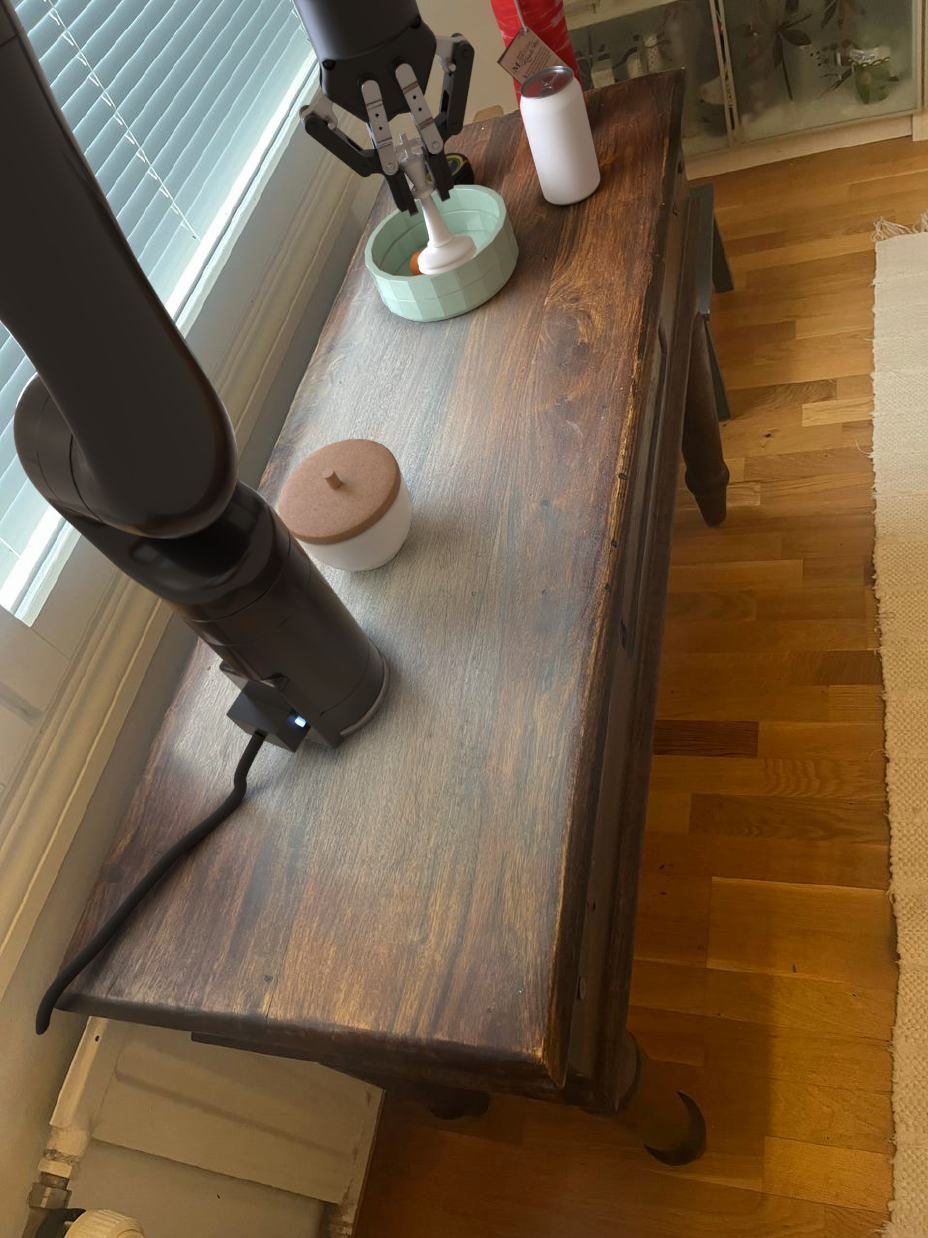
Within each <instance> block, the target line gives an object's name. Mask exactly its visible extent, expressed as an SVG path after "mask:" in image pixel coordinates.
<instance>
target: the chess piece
mask: <svg viewBox="0 0 928 1238" xmlns="http://www.w3.org/2000/svg"><path fill="white" fill-rule="evenodd" d="M398 136H399V138H400V141H401V142H399V143H398V144H396V145H394V150H395V153H397V154H399V153H401V152H403V151H404V152H405V155H406V156H405V157H404V158H403V159H402V160H401V161H400V162H399V164H400V166H401V167H402V169H403V171H404V174H405V176H406V178H408V180H409V181H410V182H411V184H412V185H413V186H415V187H414V189H413V190H412V191H411V193H412V195H413V198H414V199H420V202H421V205H422V209H423V213H424V217H425V221H426V225H427V229H428V233H429V238H430V240H429V242H428V244H427V245H428V247H426V248H425V249H424V250H423V251H422V252H421V254H420V255H419V257H418V264H419V269H420V271H421V272H422V273H424V274H428V275H434V274H441V273H445V272H448V271H450V270H453V269H455V268H457V267H459V266H461V265H463V264H464V263H466V262H467V261H468V260H469V259H470V258H472V256H473V255H474V254H475V252H476V245H475V244H474V242H473V239H472V238H471V237H470V236H467V235H455V234H454V233H453V232H449V230H448V228H447V226H446V224H445V222H444V220H443V218H442V216H441V215H440V213H439V210H438V208H437V206H436V204H435V202H434V200H433V198H432V196H431V194H432V193H433V192H434V191H435V190H436V186H435V184H434V183H433V182H427V181H426V166H425V165H426V161H425V156H424V154H423V153H422V152H413V150H412V147H414V146H416V145H418V144H419V142H418V139H417V137H416V136H412V137H411V138H408V135H407V133H406V132H405V131H402V132H400V133H398Z"/></svg>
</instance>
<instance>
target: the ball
mask: <svg viewBox="0 0 928 1238" xmlns="http://www.w3.org/2000/svg"><path fill="white" fill-rule="evenodd" d="M422 251H423V250H422ZM422 251H419V252H417V253H415V254H414V256H413V257H412V259H411V262H410V268H411V271H412V273H413V275H414V276H417V275H423V274H424V273H422V272H421V271H420V269H419V264H418V257H419V255H420V254H421V252H422Z"/></svg>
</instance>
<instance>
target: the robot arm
mask: <svg viewBox="0 0 928 1238" xmlns="http://www.w3.org/2000/svg"><path fill="white" fill-rule="evenodd" d="M293 2H294V5H295V8H296V10H297V12H298V14H299V17H300V20H301V22H302V24H303V27H304V29H305V32H306V35H307V37H308V39H309V41H310V44H311V47H312V49H313V52H314V54H315V56H316V59H317V61H318V67H319V74H318V75H319V76H318V81H319V85H320V90H319V92H318V93H317V94H316V95H315V97H314V99H313V100H312V101H311V103H310V104H304V105H302V106H301V107H300V108H299V111H298V116H299V119H300V122H301V124H302V127H303V128H304V131H305V133H306V134H307V135H309V137H311V138H312V139H314V141H316V142H317V143H319V144H320V145H321V146H322V147H324V149H326V150H327V151H329V152H330V153H331V155H332V154H333V155H334V156H335V157H336V158H338V159H339V160H340V161H341V162H343V164H345V165H346V166H347V167H349V168H350V169H351V170H352V171H353V172H355V173H356V174H358V175H359V176H360V177H362V178H368V177H371V176H372V175H374V174H379V175H381V176H383V177H384V180H385V182H386V183H385V184H386V185H387V187H388V190H389V193H390V195H391V198H392V200H393V203H394V205H395V206H396V209H397V208H398V209H399V210H400V211H401V212H405V211H408V213H409V215H410V217H412V216H414V215H416V214H418V213H419V212H418V209H417V206H416V203H415V201H414V198H413V195H412V193H411V187H410V185H409V182H408V179H407V175H406V174H405V173H404V171H403V169H402V167H401V166H400V162H399V160H398V157H397V154H396V153H397V152H396V149H395V145H394V142H393V136H392V132H391V129H390V125H389V123H390V122H391V121H392V120H394V118H395V117H397V116H398V115H403V114H409V116H410V118H411V121H412V122H413V124H414V127H415V129H416V131H417V134H418V135H419V137H420V138H419V139H420V142H421V143H422V144H421V145H422V146H420V150H421V153H422V154H424V156H425V161H426V164H427V167H428V170H429V173H430V176H431V179H432V182H433V183H434V184H435V186H436V192H437V194H438V196H439V198H440V199H441V201H442V202H444V201H446V200H448V199H450V194H449V190H451V189H453V188H454V179H453V176H452V173H451V170H450V167H449V164H448V161H447V158H446V155H445V154H446V152H445V145H446V143H447V141H448V140H449V139H450V138H451V137H453V136H458V135H459V134H460V133H461V132H462V131H463V128H464V122H465V117H466V110H467V103H468V97H469V92H470V87H471V80H472V72H473V66H474V60H475V53H476V52H475V48H474V47H473V45H472V44H471V43H470V41H469V40H468V39H467V38H466V37H465V36H464V35H463V34H462V33H460V32H454V33H453V34H451V35H450V36H447V35H446V36H445V35H437V34H435V33H434V32H433V30H432V28H430V26H429V25H428V24H426V22H425V21H424V20H423V18H422V15H421V12H420V9H419V6H418V3H417V0H293ZM435 56H437V57H438V65H439V67H440V68H441V69H442V71H443V78H442V79H443V80H442V86H441V92H440V93H441V94H440V99H439V107H438V113H437V115H436V116H435V117H433V113H432V111H431V110H430V108H429V104H428V102H427V101H426V98H425V96H426V91H427V89H428V85H429V80H430V77H431V72H432V68H433V64H434V61H435ZM334 104H335V105H337V106H338V107H340V108H341V109H343V110H345V111H346V112H348V113H349V114H351V115H352V116H354V117H356V118H357V119H359V120H360V121H361V122H363V123H365V126H366V128H367V132H368V134H369V138H370V142H371V145H372V148H367V149H365V148H363V147H362V146H361V145H360V144H358V143H357V142H356V141H355V140H354V139H352V138H351V137H350V136H348V134H346V133H345V132H344V131H342V130H341V129H340V128H339V127H338V124H339V120H338V117H337V116H336V113H335V112H334V111H333V105H334ZM81 147H82V146H81V145H80V144H79V142H78V139H77V137H76V136H75V134H74V132H73V130H72V128H71V125H70V123H69V122H68V120H67V118H66V115H65V114H64V112H63V110H62V108H61V106H60V105H59V102H58V100H57V98H56V95H55V94H54V91H53V89H52V88H51V85H50V83H49V81H48V78H47V76H46V74H45V72H44V70H43V67H42V65H41V62H40V60H39V58H38V56H37V54H36V51H35V49H34V47H33V45H32V43H31V40H30V38H29V36H28V34H27V31H26V29H25V27H24V26H23V24H22V21H21V19H20V17H19V15H18V13H17V11H16V9H15V7H14V5H13V3H12V1H11V0H0V323H1V324H2V325H3V326H4V328H5V330H7V332H8V333H9V334H10V336H11V337H12V339H14V341H15V342H16V343H17V344H18V346H19V347H20V348H21V349H20V350H22V352H23V353H24V354H25V357H26V358H27V359H28V361H29V363H30V364H31V365H32V367H33V368H34V370H35V371H36V373H35V374H34V375H33V376H31V378H30V379H29V380H28V381H27V383H26V385H25V386H23V389H22V391H21V393H20V395H19V397H18V399H17V402H16V406H15V410H14V415H13V428H12V429H13V430H12V431H13V440H14V446H15V450H16V454H17V457H18V459H19V463H20V464H21V467H22V469H23V471H24V473H25V475H26V477H27V478H28V480H29V481H30V482H31V484H32V485H33V487H34V488H35V489H36V490H37V492H38V493H39V494H40V495H41V497H43V499H44V500H45V501H46V502H47V503H48V504H49V505H50V506H51V507H52V508H53V509H54V510H55V511H56V512H57V514H59V515H60V516H61V517H62V518H63V519H64V520H65V521H67V522H68V523H69V524H70V525H71V526H72V527H73V528H74V530H76V531H77V532H79V534H80V535H82V536H83V537H84V538H85V539H86V540H87V541H88V542H89V543H90V544H92V546H93V547H95V548H96V549H97V550H98V551H99V552H100V553H101V554H102V555H103V556H105V557H106V558H107V559H108V560H109V562H110V563H112V564H113V565H114V566H116V567H117V569H119V570H120V571H121V572H122V573H123V574H124V575H126V576H127V577H128V578H130V579H131V580H133V581H134V582H135V583H137V584H138V585H140V586H141V587H143V588H144V589H146V590H147V591H149V592H150V593H152V594H153V595H155V596H156V597H157V598H159V599H160V600H161V601H162V602H164V603H165V604H166V605H167V606H168V607H169V608H170V609H171V610H172V611H173V612H174V613H175V614H176V615H177V616H178V617H179V618H180V619H181V620H182V621H183V622H184V623H185V624H186V625H187V626H188V627H189V628H190V629H191V630H192V631H193V632H194V633H195V634H196V635H197V636H198V637H199V638H200V639H201V640H202V641H203V642H204V643H205V644H206V646H207V647H209V648H210V649H211V650H212V651H213V652H214V653H215V654H216V655H217V656H218V657H219V658H220V659H221V662H220V664H219V666H218V668H219V671H220V672H221V673H223V675H225V677H226V678H228V680H230V681H231V683H232V684H233V685H234V686H235V687H237V688H238V689H239V690H240V692H239V694H238V695H237V697H236V698H235V700H234V701H233V703H232V704H231V706H230V707H229V709H228V710H227V712H226V713H225V716H226V717H227V718H229V719H230V720H231V721H232V722H233V723H234V724H235V725H236V726H237V727H238V728H239V729H241V730H242V731H243V732H244V733H245V734H247V735H249V736H251V738H250V739H249V741H248V743H247V745H246V747H245V749H244V751H243V753H242V755H241V757H240V759H239V761H238V763H237V766H236V768H235V771H234V774H233V789H232V790H231V792H230V794H229V795H228V796H227V797H226V799H225V800H224V801H223V802H222V803H221V804H220V805H219V807H218V808H217V809H216V810H215V811H213V812H212V813H211V814H210V815H209V816H208V817H206V818H205V819H204V820H203V821H201V822H200V823H199V824H197V825H196V826H195V827H194V828H193V829H191V830H190V831H189V832H188V833H186V834H185V835H184V836H182V838H181V839H179V840H178V841H176V843H175V844H174V845H173V846H172V847H171V848H169V850H167V851H166V852H165V853H164V854H163V856H161V858H160V859H159V860H158V861H157V862H156V863H155V864H154V865H153V867H152V868H151V869H150V870H149V871H148V872H147V873H146V874H145V875H144V876H143V877H142V879H141V880H140V881H139V882H138V883H137V885H135V887H134V888H133V889H132V891H130V893H129V894H128V896H126V898H125V899H124V901H123V902H122V903H121V904H120V905H119V907H118V908H117V909H116V910H115V912H114V913H113V914H112V915H111V917H110V918H109V919H108V920H107V922H105V924H104V926H103V927H102V928H101V929H100V931H99V932H98V933H97V934H96V935H95V936H94V937H93V939H92V940H91V941H90V942H89V943H88V944H87V945H86V947H85V948H84V949H83V950H82V951H80V953H79V954H78V955H77V956H76V957H75V958H73V960H72V961H71V962H70V963H69V964H68V965H67V966H66V967H65V968H64V969H63V970H62V971H61V973H60V974H59V975H58V976H56V978H55V979H54V981H53V982H52V983H51V985H50V986H49V987H48V988H47V990H46V992H45V993H44V994H43V996H42V999H41V1001H40V1003H39V1005H38V1008H37V1011H36V1014H35V1015H36V1016H35V1034H36V1035H38V1036H41V1035H43V1034H45V1032H46V1031H47V1030H48V1029H49V1026H50V1024H51V1017H52V1014H53V1011H54V1008H55V1006H56V1003H57V1002H58V1000H59V998H60V997H61V996H62V995H63V992H64V991H65V990H66V989H67V988H68V987H69V985H70V984H71V983H72V982H73V981H74V980H75V979H76V977H78V975H79V974H80V973H81V972H83V970H84V969H85V968H86V967H87V966H88V965H89V964H90V963H91V962H92V961H93V960H94V959H95V958H96V956H98V955H99V953H101V951H102V950H103V949H104V948H105V946H107V944H108V943H109V942H110V941H111V940H112V938H113V937H114V936H115V934H116V933H117V932H118V930H120V928H121V927H122V926H123V924H124V923H125V922H126V920H127V919H128V918H129V917H130V916H131V914H132V913H133V912H134V910H136V908H137V906H138V905H139V904H140V903H141V902H142V901H143V899H144V898H145V897H146V896H147V895H148V893H149V892H150V891H151V889H153V887H154V886H155V885H156V883H158V882H159V880H160V879H161V878H162V877H163V876H164V875H165V874H166V873H167V872H168V870H170V868H171V867H172V866H173V865H175V863H176V862H177V861H178V860H179V859H180V858H181V857H182V856H183V855H184V854H185V853H186V852H187V851H189V850H190V849H191V848H192V847H193V846H194V845H196V844H197V843H198V842H200V840H202V839H203V838H205V836H207V835H208V834H209V833H210V832H212V830H214V829H215V828H216V827H217V826H219V825H220V823H222V822H223V821H224V820H225V819H226V818H227V817H228V816H230V814H231V813H232V812H234V810H236V808H237V807H238V806H239V804H241V802H242V800H243V798H244V797H245V796H246V793H247V789H248V780H247V779H248V775H249V773H250V769H251V767H252V766H253V763H254V761H255V759H256V757H257V755H258V754H259V752H260V750H261V748H262V746H263V744H264V742H267V743H269V744H271V745H273V746H276V747H278V748H281V749H284V750H286V751H288V752H290V753H293V754H296V753H297V751H298V749H300V746H301V745H302V743H303V742H304V740H306V741H312V742H314V743H317V744H319V745H322V746H325V747H327V748H330V749H332V750H335V749H337V748H338V747H339V745H340V744H341V742H342V741H343V739H344V738H345V737H347V736H349V735H352V734H354V733H355V732H356V731H359V730H360V729H362V727H364V726H365V725H366V724H367V723H369V722H370V720H371V719H372V718H373V717H374V716H375V715H376V714H377V712H378V711H379V709H380V708H381V706H382V705H383V702H384V701H385V699H386V696H387V693H388V690H389V684H390V669H389V664H388V661H387V660H386V657H385V655H384V654H383V653H382V651H381V650H380V649H379V647H378V646H377V645H376V644H374V642H373V640H372V639H371V638H370V637H369V636H368V635H367V633H366V632H365V630H364V629H363V628H362V626H361V625H360V624H359V622H358V621H357V620H356V618H355V616H353V614H352V613H351V611H350V610H349V609H348V607H347V606H346V605H345V603H344V602H343V601H342V599H341V598H340V597H339V595H338V593H336V591H335V590H334V588H333V587H332V586H331V584H330V583H329V581H327V578H326V577H325V576H324V575H323V573H322V572H321V571H320V569H319V568H318V567H317V566H316V564H315V562H313V560H312V558H311V557H310V556H309V554H308V552H307V551H306V550H305V549H304V548H303V547H302V546H301V544H300V543H299V542H298V541H297V539H296V538H295V537H294V535H293V534H292V533H291V531H290V530H289V529H288V527H287V526H286V525H285V523H284V522H283V521H282V519H281V518H280V516H279V513H277V511H276V510H275V509H274V507H273V506H272V505H271V503H270V502H269V501H268V500H267V499H266V498H265V497H264V496H263V495H262V494H261V493H259V492H258V491H257V490H255V489H254V488H252V487H251V486H249V485H247V484H246V483H245V482H243V481H241V480H240V479H238V471H239V454H238V445H237V438H236V434H235V429H234V426H233V423H232V419H231V417H230V415H229V412H228V410H227V408H226V405H225V403H224V401H223V400H222V398H221V396H220V394H219V392H218V391H217V389H216V388H215V386H214V384H213V383H212V381H211V378H210V377H209V376H208V374H207V373H206V371H205V369H204V368H203V365H202V364H201V363H200V361H199V359H198V358H197V356H196V355H195V353H194V352H193V350H192V348H191V346H190V345H189V344H188V342H187V340H186V338H185V337H184V336H183V334H182V332H181V331H180V329H179V327H178V326H177V324H176V322H175V321H174V319H173V318H172V316H171V315H170V312H169V311H168V310H167V308H166V307H165V304H164V303H163V301H162V300H161V298H160V297H159V295H158V293H157V292H156V290H155V288H154V286H153V285H152V283H151V281H150V280H149V278H148V276H147V275H146V274H145V271H144V270H143V268H142V266H141V263H140V262H139V261H138V259H137V257H136V255H135V254H134V252H133V249H132V247H131V245H130V243H129V242H128V239H127V237H126V235H125V233H124V231H123V229H122V227H121V226H120V223H119V221H118V219H117V217H116V215H115V212H114V211H113V209H112V207H111V204H110V202H109V200H108V198H107V196H106V194H105V192H104V190H103V189H102V186H101V185H100V182H99V181H98V179H97V177H96V175H95V173H94V171H93V169H92V167H91V164H90V163H89V161H88V159H87V157H86V155H85V153H84V151H83V149H82V148H81Z"/></svg>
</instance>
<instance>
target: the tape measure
mask: <svg viewBox="0 0 928 1238" xmlns="http://www.w3.org/2000/svg"><path fill="white" fill-rule="evenodd" d="M445 155H446V158H447V161H448V164H449V167H450V170H451V173H452V176H453V179H454V186H455V185H475V179H476V177H475V176H476V175H475V172H474V170H473V169H474V168H473V167H472V164H471V162H470V160H469V158H468V156H466V155H465V154H464V153H460V152H448V153H445ZM425 166H426V181H427V182H432V179H431V176H430V173H429V170H428V167H427V164H426V165H425ZM414 187H415V186H414V185H413V186H412V187H411V188H410V190H411V191H412V190H413V189H414Z"/></svg>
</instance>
